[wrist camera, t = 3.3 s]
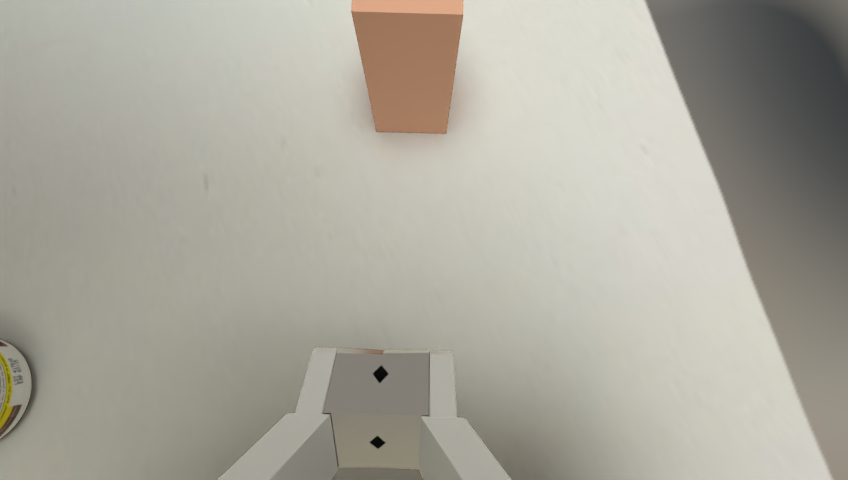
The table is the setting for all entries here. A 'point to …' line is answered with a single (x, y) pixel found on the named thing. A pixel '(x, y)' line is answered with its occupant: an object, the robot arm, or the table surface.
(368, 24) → the terracotta post
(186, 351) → the table surface
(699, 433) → the table surface
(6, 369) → the supplement bottle
